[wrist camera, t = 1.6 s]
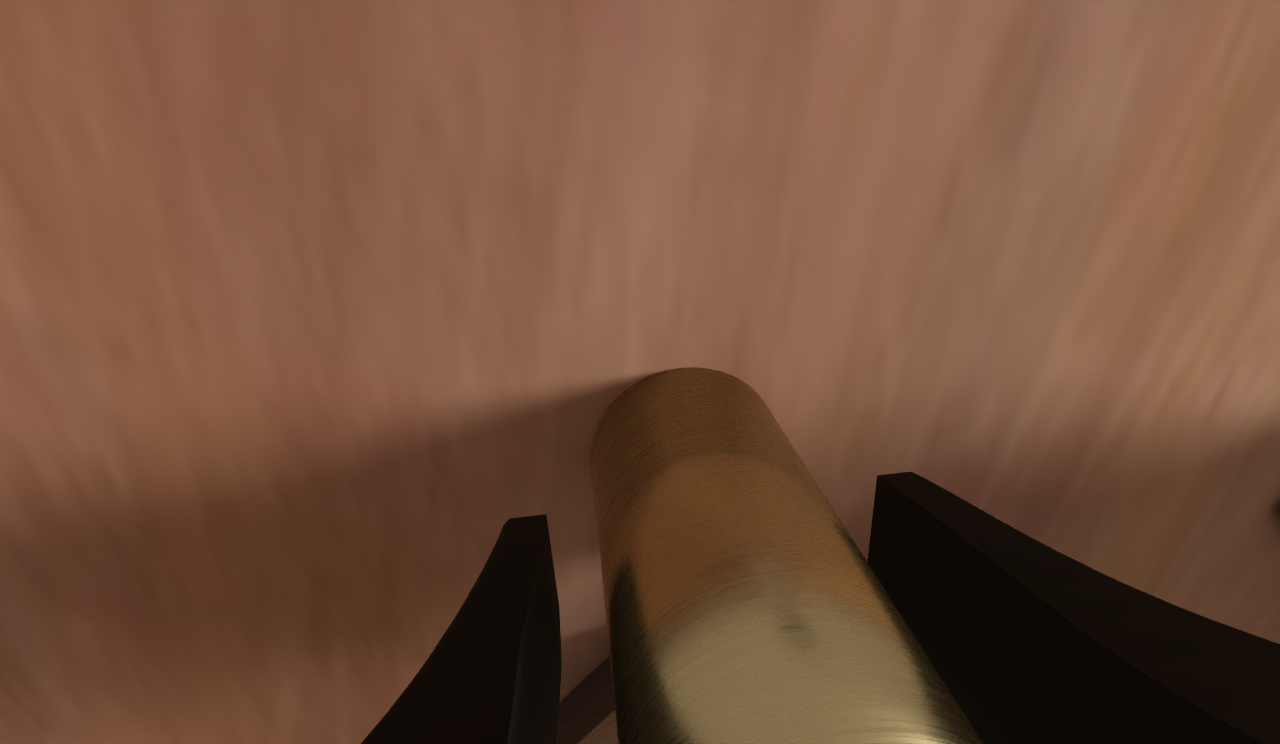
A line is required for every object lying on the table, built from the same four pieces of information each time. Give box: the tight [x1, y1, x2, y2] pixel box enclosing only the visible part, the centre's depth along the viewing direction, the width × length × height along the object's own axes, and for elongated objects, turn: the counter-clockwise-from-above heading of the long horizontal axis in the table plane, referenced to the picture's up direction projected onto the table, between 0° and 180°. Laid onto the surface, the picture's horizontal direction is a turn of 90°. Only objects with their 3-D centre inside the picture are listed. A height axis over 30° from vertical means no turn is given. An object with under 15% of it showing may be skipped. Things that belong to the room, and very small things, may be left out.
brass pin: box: [591, 368, 983, 744], centre depth 10 cm, size 4×4×9 cm
